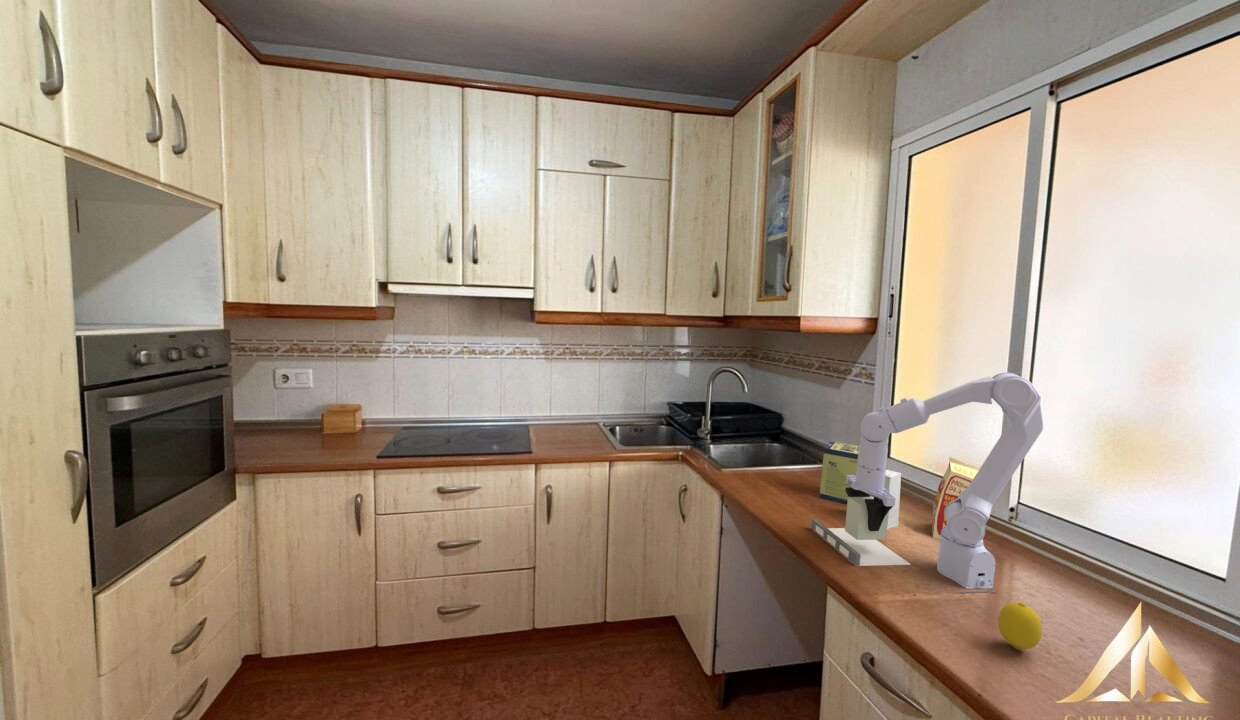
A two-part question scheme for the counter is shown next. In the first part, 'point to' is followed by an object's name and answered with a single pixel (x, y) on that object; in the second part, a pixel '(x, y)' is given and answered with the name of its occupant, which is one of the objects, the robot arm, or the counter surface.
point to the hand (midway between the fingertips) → (865, 525)
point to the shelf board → (857, 547)
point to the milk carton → (951, 491)
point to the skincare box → (893, 488)
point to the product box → (862, 521)
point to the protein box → (837, 470)
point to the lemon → (1020, 625)
